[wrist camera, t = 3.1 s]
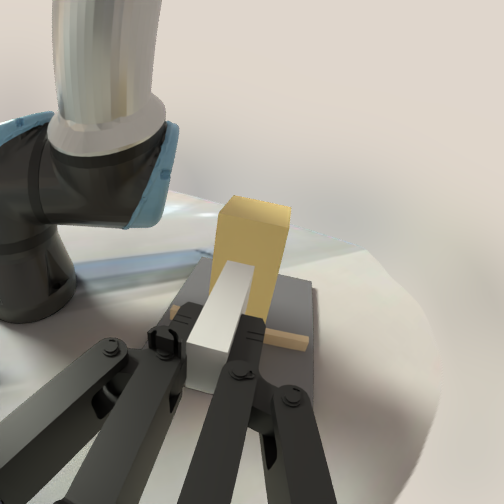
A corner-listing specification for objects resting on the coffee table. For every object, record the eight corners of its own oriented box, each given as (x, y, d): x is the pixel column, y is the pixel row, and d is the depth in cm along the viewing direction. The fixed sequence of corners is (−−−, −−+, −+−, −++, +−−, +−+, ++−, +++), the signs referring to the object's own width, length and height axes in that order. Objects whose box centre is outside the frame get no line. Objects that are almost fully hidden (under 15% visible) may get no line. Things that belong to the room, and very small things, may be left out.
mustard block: (250, 377, 27) (289, 228, 20) (201, 365, 27) (218, 213, 20) (257, 344, 32) (291, 207, 24) (214, 333, 32) (233, 195, 25)
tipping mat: (310, 412, 25) (317, 400, 24) (134, 368, 26) (131, 353, 25) (310, 285, 46) (313, 273, 45) (201, 261, 47) (202, 248, 46)
